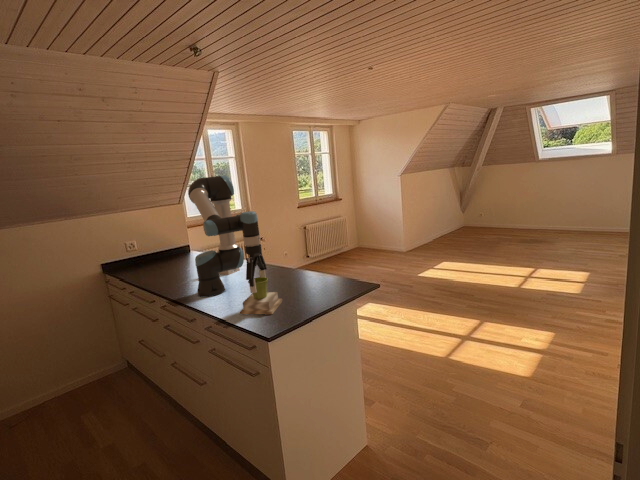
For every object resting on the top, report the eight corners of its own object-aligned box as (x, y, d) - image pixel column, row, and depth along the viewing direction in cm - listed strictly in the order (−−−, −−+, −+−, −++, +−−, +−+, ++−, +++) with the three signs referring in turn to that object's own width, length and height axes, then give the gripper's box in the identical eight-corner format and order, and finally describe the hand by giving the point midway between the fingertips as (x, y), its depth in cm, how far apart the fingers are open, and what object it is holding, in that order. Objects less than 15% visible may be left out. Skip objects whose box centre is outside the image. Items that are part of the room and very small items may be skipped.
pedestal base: (240, 314, 170) (238, 303, 169) (252, 302, 186) (251, 291, 185) (272, 314, 167) (270, 303, 166) (282, 301, 182) (281, 290, 181)
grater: (239, 270, 250) (235, 242, 246) (228, 274, 242) (223, 245, 238) (229, 269, 256) (224, 241, 252) (217, 273, 247) (213, 245, 243)
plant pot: (251, 295, 180) (249, 278, 178) (270, 292, 180) (268, 275, 179) (249, 301, 171) (246, 284, 169) (269, 299, 171) (267, 281, 169)
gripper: (250, 250, 157) (256, 296, 162) (269, 238, 181) (274, 278, 186) (234, 251, 159) (241, 297, 163) (254, 239, 183) (260, 279, 187)
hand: (258, 287), depth 175 cm, fingers open, 13 cm apart
